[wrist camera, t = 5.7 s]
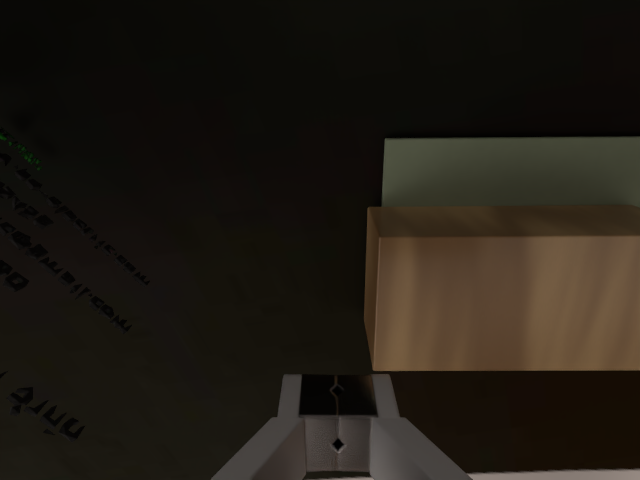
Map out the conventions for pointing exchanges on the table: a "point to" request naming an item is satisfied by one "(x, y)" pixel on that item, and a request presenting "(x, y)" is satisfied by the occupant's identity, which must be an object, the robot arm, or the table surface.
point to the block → (503, 288)
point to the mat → (511, 171)
